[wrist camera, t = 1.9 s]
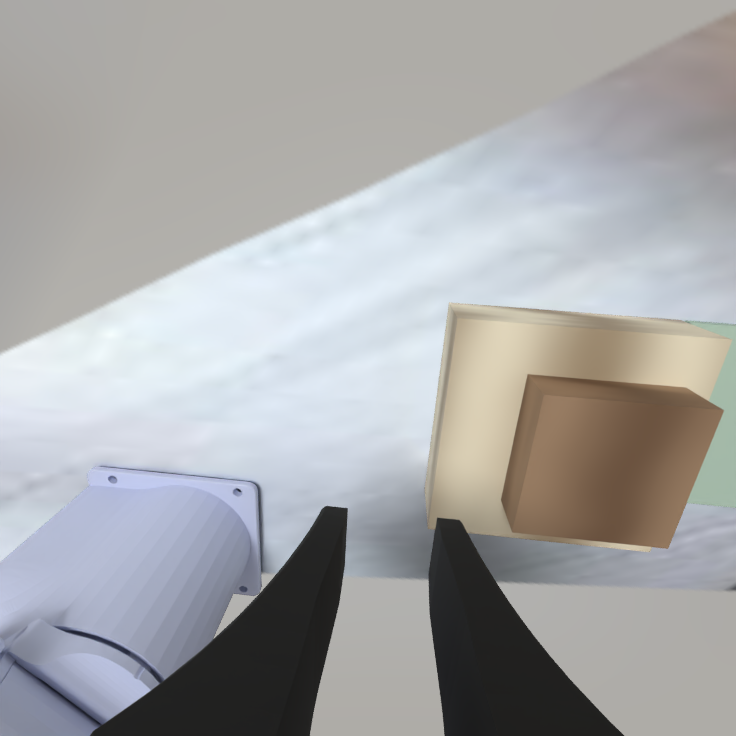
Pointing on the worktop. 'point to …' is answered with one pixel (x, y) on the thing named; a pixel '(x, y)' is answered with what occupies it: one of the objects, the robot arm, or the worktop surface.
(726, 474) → the green mat
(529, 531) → the walnut coaster
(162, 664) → the robot arm
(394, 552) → the worktop surface
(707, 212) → the worktop surface
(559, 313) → the birch board
